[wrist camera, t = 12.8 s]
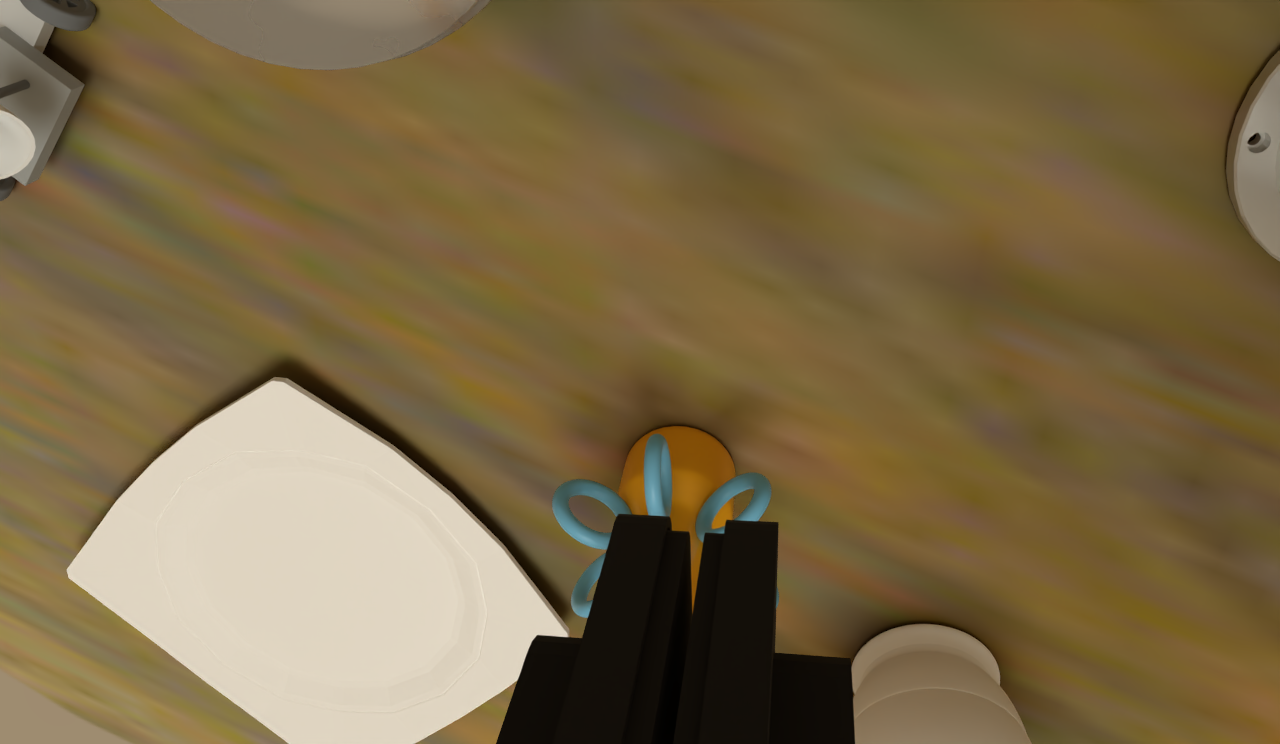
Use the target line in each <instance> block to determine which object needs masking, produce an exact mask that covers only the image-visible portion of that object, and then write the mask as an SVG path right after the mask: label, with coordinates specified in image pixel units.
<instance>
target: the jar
mask: <svg viewBox="0 0 1280 744" xmlns="http://www.w3.org/2000/svg"><path fill="white" fill-rule="evenodd" d="M851 669H852V686H853V691H854V694H855V695H854V698H853V708H854V729H855V744H1032V743H1031V741H1030V739H1029V738H1028V736H1027V733H1026V731H1025V728H1024V726H1023V723H1022V721H1021V719H1020V717H1019V715H1018V713H1017V711H1016V709H1015V707H1014V705H1013V704H1012V702H1011V700H1010V699H1009V697H1008V696H1007V695H1006V693H1005V692H1004V691H1003V689H1002V688H1001V687H1000V672H999V668H998V665H997V662H996V660H995V658H994V657H993V655H992V654H991V652H990V651H989V650H988V649H987V648H986V647H985V646H984V645H983V644H982V643H981V642H980V641H978V640H977V639H975V638H974V637H972V636H970V635H969V634H967V633H965V632H962V631H960V630H957V629H954V628H951V627H946V626H942V625H935V624H913V625H905V626H901V627H897V628H893V629H890V630H888V631H885V632H883V633H881V634H879V635H877V636H876V637H874V638H873V639H871V640H870V641H868V642H867V643H866V644H865V645H864V646H863V647H862V648H861V649H860V651H859V652H858V653H857V655H856V657H855V659H854V661H853V664H852V667H851Z"/></svg>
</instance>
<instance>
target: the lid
mask: <svg viewBox="0 0 1280 744" xmlns="http://www.w3.org/2000/svg"><path fill="white" fill-rule="evenodd" d="M150 1H151V2H153V3H154V4H155V5H156V6H158V7H159V8H160V9H162V10H163V11H164V12H166V13H167V14H169V15H170V16H171V17H173V18H174V19H175V20H177V21H178V22H179V23H181V24H182V25H184V26H186V27H187V28H189V29H191V30H192V31H194V32H196V33H197V34H199V35H201V36H203V37H204V38H206V39H208V40H209V41H211V42H214V43H216V44H218V45H220V46H223V47H225V48H227V49H229V50H232V51H234V52H236V53H238V54H241V55H244V56H247V57H250V58H254V59H257V60H260V61H263V62H267V63H270V64H275V65H281V66H287V67H293V68H298V69H317V70H336V69H346V68H356V67H362V66H366V65H370V64H374V63H378V62H382V61H386V60H389V59H392V58H394V57H397V56H399V55H401V54H404V53H406V52H409V51H411V50H413V49H416V48H417V47H419V46H421V45H422V44H424V43H426V42H427V41H429V40H431V39H432V38H434V37H436V36H437V35H439V34H441V33H442V32H443V31H445V30H446V29H448V28H449V27H451V26H452V25H453V24H454V23H455V22H457V21H458V20H459V19H460V18H461V17H463V16H464V15H465V14H466V13H467V12H469V11H470V10H471V9H472V8H473V7H474V6H475V5H476V4H477V3H478V2H479V1H480V0H150Z"/></svg>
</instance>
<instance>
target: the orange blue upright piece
mask: <svg viewBox="0 0 1280 744" xmlns="http://www.w3.org/2000/svg"><path fill="white" fill-rule="evenodd" d="M748 489H754V490H755V492H754V496H753V498H752V500H751V502H750V503H749V505H748V506H747V507H746V509H745V510H744V511H743V512H742V513H741V514H740V515H739V516H738V517H737V518H735V519H734V520H742V521H758V520H759V519H760V517H761V516H762V515H763V513H764V512H765V510H766V508H767V506H768V504H769V501H770V498H771V485H770V483H769V481H768V479H767V478H766V477H765V476H763V475H761V474H759V473H745V474H742V475H739V476H736V477H735V467H734V463H733V461H732V458H731V456H730V455H729V453H728V451H727V450H726V449H725V447H724V446H723V445H722V444H721V443H720V442H719V441H718V440H717V439H715V438H714V437H712V436H711V435H709V434H708V433H706V432H703V431H701V430H698V429H696V428H690V427H686V426H670V427H663V428H660V429H656V430H653V431H652V432H650V433H648V434H646V435H644V436H643V437H642V438H641V439H639V440H638V441H637V442H636V443H635V444H634V446H633V447H632V448H631V450H630V452H629V454H628V456H627V459H626V463H625V467H624V471H623V475H622V479H621V483H620V487H619V491H618V494H616V493H615V492H614V491H613V490H611V489H610V488H608V487H606V486H604V485H602V484H600V483H597V482H594V481H590V480H584V479H576V480H570V481H567V482H565V483H563V484H562V485H561V486H559V487H558V488H557V490H556V491H555V493H554V496H553V500H552V507H553V512H554V515H555V517H556V519H557V521H558V523H559V524H560V525H561V527H562V528H563V529H564V530H565V531H566V532H567V533H568V534H569V535H570V536H572V537H573V538H574V539H576V540H577V541H579V542H581V543H583V544H585V545H587V546H590V547H593V548H597V549H607V548H608V544H609V540H610V537H611V533H612V532H611V533H603V532H598V531H595V530H592V529H590V528H588V527H587V526H585V525H583V524H582V523H581V522H580V521H578V520H577V519H576V517H575V516H574V515H573V514H572V512H571V510H570V508H569V503H568V502H569V499H570V498H571V497H573V496H576V495H585V496H590V497H593V498H595V499H597V500H599V501H601V502H602V503H604V504H605V505H606V506H608V507H609V508H610V509H611V510H612V511H613V513H614V514H615V516H616V517H617V515H618V514H634V515H652V516H669V517H670V518H671V523H672V531H689V533H690V542H691V581H692V614H693V607H694V600H695V594H696V587H697V580H698V573H699V567H700V560H701V553H702V547H703V540H704V535H705V532H706V533H724V530H725V523H726V520H732V519H733V506H734V496H735V495H737V494H738V493H740V492H742V491H745V490H748ZM605 555H606V553H604V554H603V555H601V556H600V557H599V558H598V559H596V560H595V561H594V562H593V563H592V564H591V565H590V566H589V567H588V568H587V569H586V570H585V572H584V573H583V574H582V576H581V577H580V578H579V580H578V582H577V584H576V585H575V588H574V590H573V593H572V597H571V605H572V608H573V610H574V612H575V613H576V614H577V615H579V616H581V617H586V618H588V616H589V612H590V608H591V605H592V601H593V600H591V601H586V600H587V596H588V593H589V591H590V589H591V587H592V586H593V584H594V583H595V582H596V581H597V579H598V578H599V576H600V573H601V569H602V565H603V562H604V558H605ZM778 602H779V592H778V588H777V594H776V608H777V606H778Z"/></svg>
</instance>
